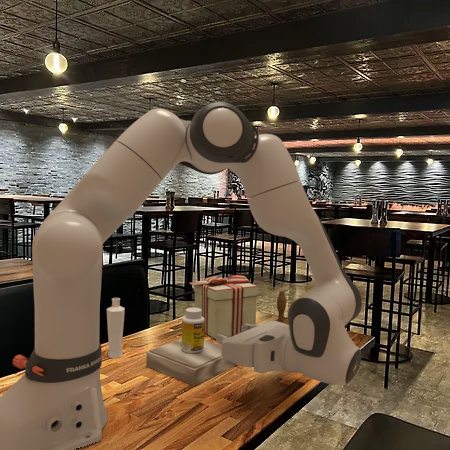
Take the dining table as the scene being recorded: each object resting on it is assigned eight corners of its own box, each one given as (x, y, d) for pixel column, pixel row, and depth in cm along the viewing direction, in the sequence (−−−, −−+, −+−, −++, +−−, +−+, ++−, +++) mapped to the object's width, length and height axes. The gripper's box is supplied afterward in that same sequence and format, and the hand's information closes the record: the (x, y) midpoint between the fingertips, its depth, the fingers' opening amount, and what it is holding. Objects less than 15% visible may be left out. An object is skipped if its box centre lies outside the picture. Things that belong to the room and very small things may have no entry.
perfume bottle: (102, 357, 112) (102, 299, 110) (112, 351, 116) (112, 296, 115) (117, 360, 110) (118, 301, 109) (127, 354, 114) (128, 298, 113)
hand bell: (291, 353, 119) (294, 296, 117) (262, 349, 121) (264, 292, 120) (296, 343, 126) (299, 289, 125) (269, 339, 129) (271, 286, 128)
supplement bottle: (193, 356, 104) (194, 314, 103) (176, 350, 108) (177, 309, 107) (208, 349, 108) (209, 309, 108) (192, 344, 112) (193, 305, 111)
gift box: (224, 318, 150) (226, 268, 149) (259, 333, 135) (261, 278, 134) (181, 325, 140) (183, 272, 139) (214, 342, 125) (216, 283, 124)
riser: (194, 385, 97) (194, 368, 97) (146, 366, 107) (146, 350, 107) (237, 364, 110) (237, 349, 109) (190, 348, 120) (191, 334, 119)
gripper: (306, 321, 100) (256, 309, 108) (256, 344, 84) (202, 329, 92) (305, 348, 100) (255, 334, 109) (255, 376, 84) (201, 358, 93)
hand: (230, 332), depth 100 cm, fingers open, 8 cm apart
